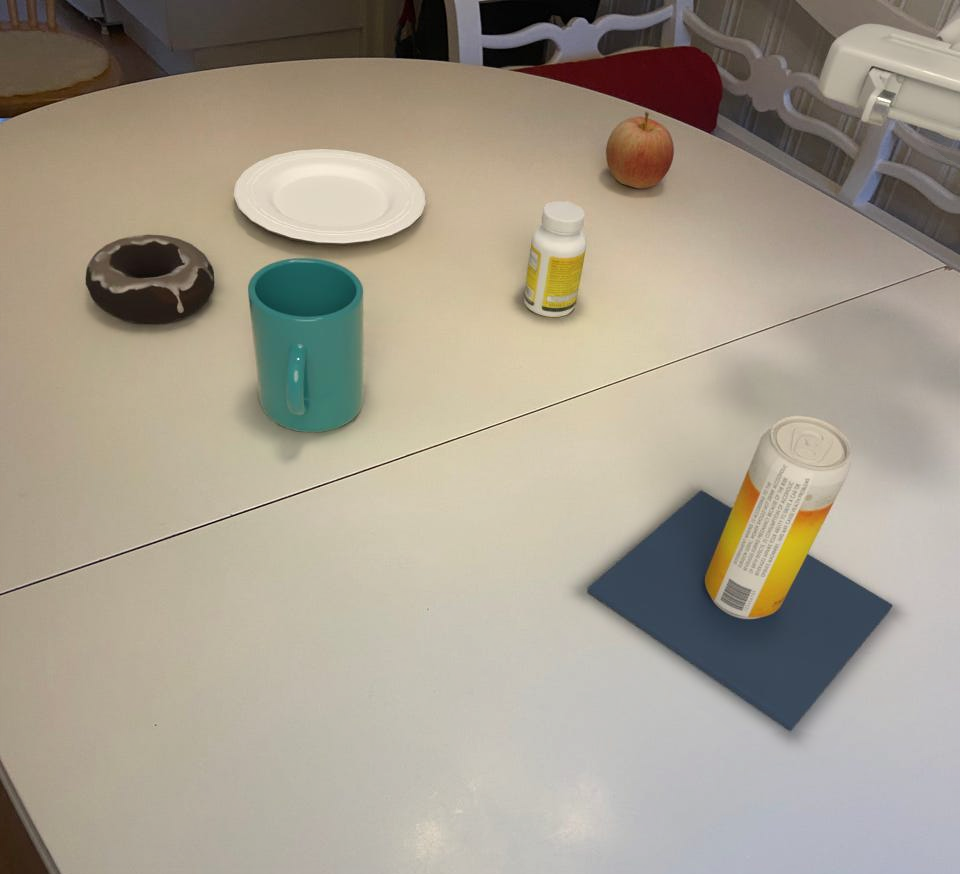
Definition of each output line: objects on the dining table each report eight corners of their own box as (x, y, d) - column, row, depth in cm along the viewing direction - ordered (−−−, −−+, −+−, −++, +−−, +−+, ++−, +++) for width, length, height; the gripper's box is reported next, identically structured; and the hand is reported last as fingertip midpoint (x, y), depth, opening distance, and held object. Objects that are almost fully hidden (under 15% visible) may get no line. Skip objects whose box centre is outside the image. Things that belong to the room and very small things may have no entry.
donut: (87, 334, 88) (77, 295, 85) (94, 265, 95) (85, 227, 92) (218, 330, 90) (213, 292, 87) (215, 263, 97) (210, 225, 94)
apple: (599, 163, 119) (612, 95, 113) (662, 171, 120) (678, 103, 113) (601, 194, 114) (615, 124, 108) (667, 202, 115) (684, 132, 108)
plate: (351, 281, 97) (350, 263, 96) (194, 212, 103) (191, 194, 102) (460, 205, 109) (461, 188, 108) (314, 147, 115) (314, 131, 114)
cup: (243, 453, 80) (228, 335, 71) (270, 367, 87) (259, 251, 79) (352, 464, 80) (350, 348, 71) (369, 377, 88) (369, 263, 79)
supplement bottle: (584, 303, 99) (602, 210, 91) (557, 325, 96) (574, 231, 88) (540, 283, 101) (554, 191, 93) (512, 304, 98) (525, 210, 90)
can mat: (890, 609, 75) (893, 604, 75) (790, 731, 67) (793, 726, 66) (699, 494, 82) (701, 489, 81) (587, 592, 73) (588, 587, 73)
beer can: (788, 583, 75) (865, 431, 63) (769, 636, 71) (847, 484, 60) (714, 555, 76) (776, 400, 65) (692, 605, 73) (754, 451, 61)
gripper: (866, -14, 73) (812, 37, 65) (1146, 64, 68) (1125, 130, 60) (834, 76, 78) (781, 134, 70) (1093, 155, 72) (1067, 227, 64)
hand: (942, 133), depth 64 cm, fingers open, 8 cm apart
